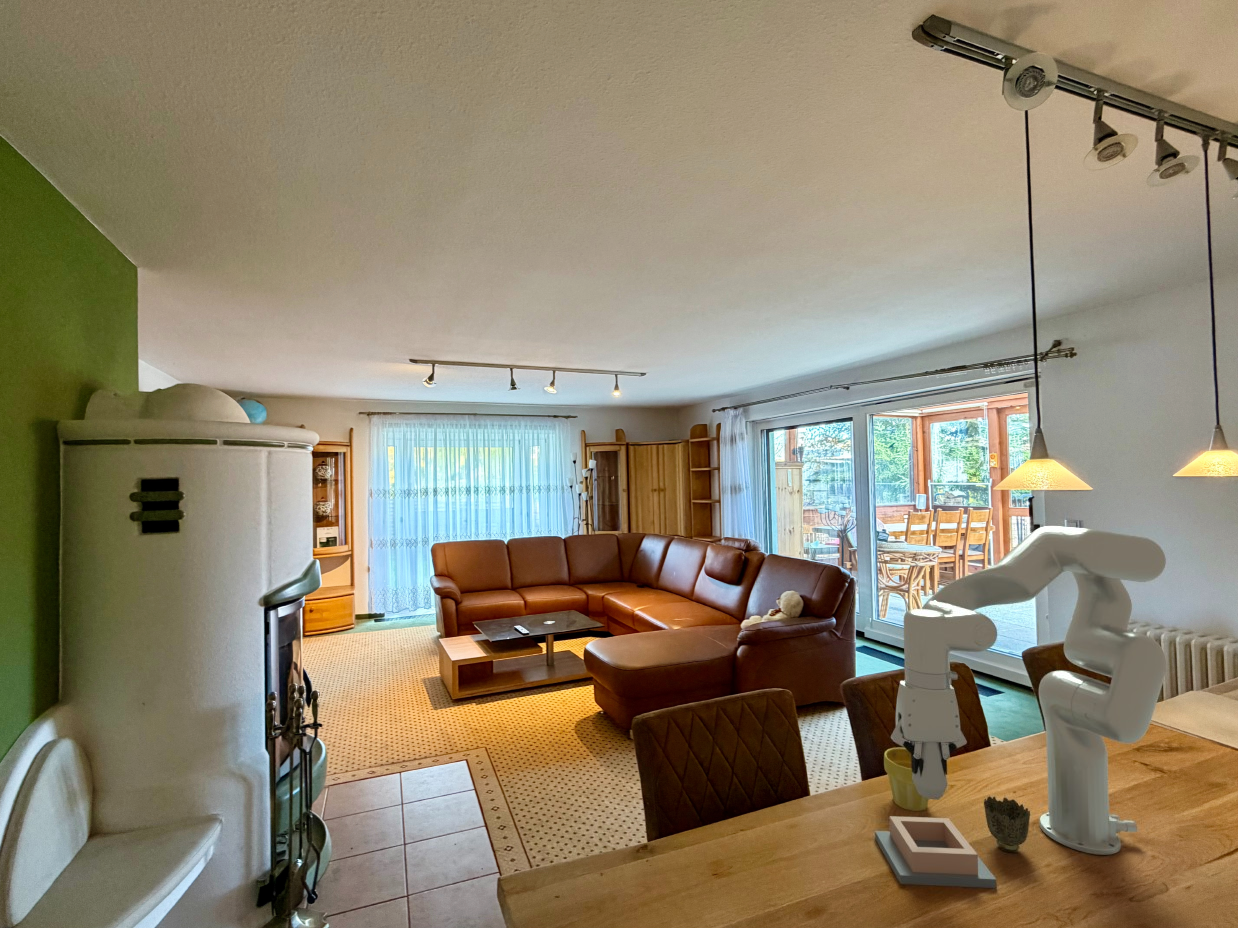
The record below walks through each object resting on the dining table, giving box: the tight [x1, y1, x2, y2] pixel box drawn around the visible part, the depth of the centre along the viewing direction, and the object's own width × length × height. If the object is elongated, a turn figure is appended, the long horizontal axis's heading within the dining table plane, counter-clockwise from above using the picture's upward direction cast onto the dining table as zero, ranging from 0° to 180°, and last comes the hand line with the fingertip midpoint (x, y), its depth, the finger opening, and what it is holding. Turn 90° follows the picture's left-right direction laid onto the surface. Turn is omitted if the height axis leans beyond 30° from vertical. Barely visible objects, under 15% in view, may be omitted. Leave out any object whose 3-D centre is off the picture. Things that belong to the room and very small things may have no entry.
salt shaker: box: [912, 742, 949, 801], centre depth 110 cm, size 6×6×13 cm
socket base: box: [874, 815, 998, 889], centre depth 109 cm, size 16×13×5 cm
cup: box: [983, 795, 1031, 853], centre depth 113 cm, size 8×7×8 cm
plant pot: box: [883, 747, 930, 812], centre depth 129 cm, size 10×10×10 cm
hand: (929, 776), depth 109 cm, fingers closed on salt shaker, 3 cm apart
